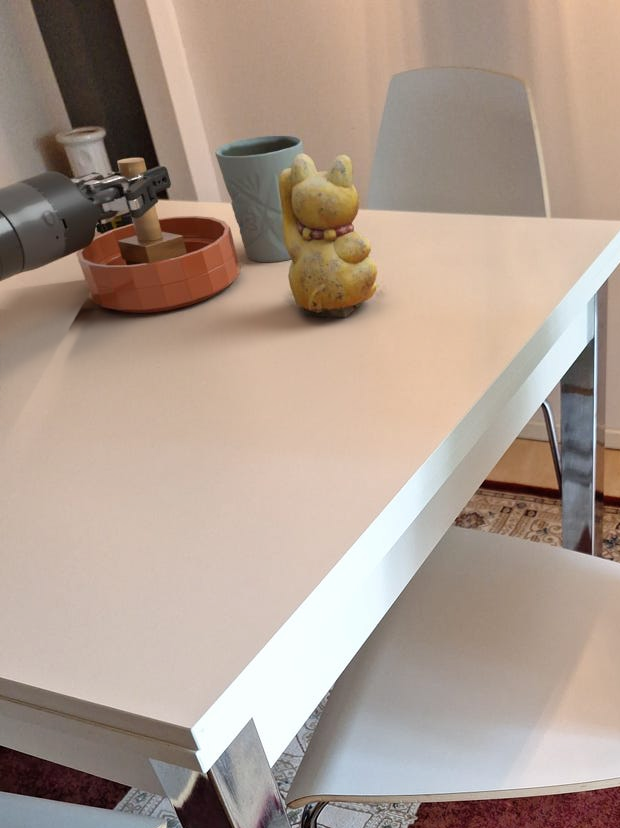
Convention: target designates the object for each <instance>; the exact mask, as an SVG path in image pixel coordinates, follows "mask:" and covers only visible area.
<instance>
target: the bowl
mask: <svg viewBox="0 0 620 828" xmlns="http://www.w3.org/2000/svg"><path fill="white" fill-rule="evenodd" d="M158 220H159V224H160V228H161V232H166V233H171V234H177V235H182V236H183V239H184V244H185V248H186V252H187V254H184V255H182V256H179V257H175V258H171V259H167V260H162V261H158V262H152V263H144V264H136V265H126V261H125V260H124V259H122V256H121V252H120V249H119V245H118V241H119V240H123V239H126V238H130V237H133V236H136V232H135V229H134V225H133V224H130V225H126V226H123V227H120V228H117V229H113V230H110V231H108V232H106V233H103V234H101V233H100V234H98V235H97V236H96V235H95V236H94V239H93V241H92V243H91V244H90V245H89V246H88V247H86V248H84V249H81V250H79V251H77V252H75V254H76V255H75V256H76V258H77V260H78V263H79V266H80V268H81V270H82V275H83V276H84V279H85V282H86V285H87V288H88V290H89V293H90V296H91V299H92V301H93V303H95V304H97V305H99V306H101V307H103V308H106V309H112V310H115V311H117V312H118V311H119V312H122V313H130V314H131V313H132V314H147V313H158V312H165V311H171V310H176V309H180V308H184V307H188V306H191V305H195V304H198V303H200V302H203V301H206V300H208V299H211V298H212V297H214V296H216V295H218V294H219V293H221V292H222V291H224V290H225V289H226V288H227V287H228V286H229V285H231V284H232V283H233V282H234V281H235V280H236V279H238V277H239V275H240V271H241V266H240V262H239V258H238V253H237V248H236V245H235V241H234V238H233V234H232V228H231V226H230V225H229V224H228V223H227V222H226V221H225V220H222V219H219V218H215V217H211V216H203V215H202V216H201V215H183V216H168V217H161V218H158Z"/></svg>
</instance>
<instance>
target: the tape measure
mask: <svg viewBox="0 0 620 828" xmlns="http://www.w3.org/2000/svg"><path fill="white" fill-rule="evenodd" d="M130 224H133V221H132V217H131V215H130V212H128V213H126V214H123V215H120V216H117V217H115V218H114V220H113V221H111V222H108V223H105V224H97V225H96V230H95V231H96V233H99V234H100V235H101V234H103V233H106V232H108V231H110V230H113V229H117V228H120V227H123V226H126V225H130Z"/></svg>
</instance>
